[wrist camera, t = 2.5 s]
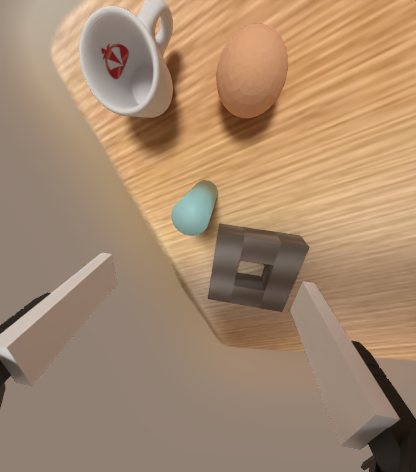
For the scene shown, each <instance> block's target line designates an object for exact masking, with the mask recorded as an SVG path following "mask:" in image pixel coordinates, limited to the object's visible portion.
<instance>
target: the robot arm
mask: <svg viewBox="0 0 416 472" xmlns="http://www.w3.org/2000/svg"><path fill="white" fill-rule="evenodd" d="M116 285H117V279H116V274H115V268H114V262H113V257H112V254H108V253H101V254H99V255H98V256H97V257H96V258H95V259H93V260H92V261H91V262H89V263H88V264H87V265H86V266H85V267H83V268H82V269H81V270H80V271H78V272H77V273H76V274H75V275H73V276H72V277H71V278H70V279H68V280H67V281H66V282H65V283H63V284H62V285H61V286H60V287H58V288H57V289H56V290H55V291H53V292H52V293H46V294H44V295H42V296H40V297H38V298H36V299H34V300H33V301H32V302H30V303H29V304H28V305H26V306H25V307H24V309H21V310H20V311H19V312H17V313H16V314H15V316H12V317H11V318H9V319H8V320H7V321H6V322H4V323H3V324H2V325H0V407H1V403H2V400H3V396H4V392H5V383H4V382H5V381H6V380H7V379H8V378H9V377H10V376H12V378H13V379H14V381H15V382H16V383H20V384H24V385H30V386H33V385H34V383H35V382H36V381H37V380H38V379H39V377H40V376H41V375H42V374H43V373H44V371H45V370H46V369H47V368H48V367H49V365H50V364H51V363H52V362H53V361H54V359H55V358H56V357H57V356H58V355H59V353H60V352H61V351H62V350H63V349H64V347H65V346H66V345H67V344H68V343H69V342H70V340H71V339H72V338H73V337H74V336H75V334H76V333H77V332H78V331H79V330H80V328H81V327H82V326H83V325H84V324H85V322H86V321H87V320H88V319H89V318H90V316H91V315H92V314H93V313H94V312H95V310H96V309H97V308H98V307H99V306H100V304H101V303H102V302H103V301H104V300H105V299H106V297H107V296H108V295H109V294H110V293H111V291H112V290H113V289H114V288H115V287H116ZM290 312H291V314H292V317H293V320H294V322H295V325H296V328H297V330H298V333H299V336H300V339H301V341H302V344H303V347H304V349H305V352H306V355H307V357H308V360H309V363H310V365H311V368H312V371H313V374H314V376H315V378H316V381H317V384H318V387H319V389H320V392H321V395H322V398H323V400H324V403H325V406H326V409H327V411H328V414H329V417H330V419H331V422H332V424H333V427H334V430H335V433H336V436H337V438H338V441H339V443H340V446H343V447H348V448H354V449H359V450H361V449H362V448H364V447H365V446H366V445H367V444H368V445H369V447H370V449H371V451H372V453H373V456H371V457H370V458H368V459H367V460H366V461H364V462H363V464H362V466H361V468H362V469H363V470H366V469H367V468H369V472H416V419H415V417H414V416H413V414H412V413H411V411H410V410H409V408H408V407H407V406H406V404H405V403H404V401H403V400H402V398H401V397H400V395H399V394H398V393H397V391H396V390H395V388H394V387H393V386H392V384H391V382H390V381H389V379H387V378H386V375H385V374H384V372H383V371H382V369H381V368H379V365H378V363H377V362H376V360H375V359H374V358H373V356H372V355H371V353H370V352H369V351H368V350H367V349H366V348H365V347H364V346H363V345H362V344H361V343H359V342H355V341H351V340H350V339H349V337H348V336H347V334H346V332H345V331H344V329H343V328H342V326H341V324H340V323H339V321H338V320H337V318H336V316H335V315H334V313H333V312H332V310H331V309H330V307H329V305H328V304H327V302H326V301H325V299H324V297H323V296H322V294H321V293H320V291H319V289H318V288H317V286H316V285H315V283H311V282H304V281H302V284H301V286H300V288H299V291H298V293H297V296H296V298H295V300H294V303H293V305H292V308H291V310H290Z"/></svg>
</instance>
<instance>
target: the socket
mask: <svg viewBox="0 0 416 472" xmlns="http://www.w3.org/2000/svg"><path fill="white" fill-rule="evenodd" d="M308 249H309V246H308V245H307V244H306V242H305V241H304V240H303V238H302V237H301V236H298V235H292V234H285V233H278V232H272V231H265V230H258V229H252V228H245V227H238V226H231V225H225V224H219V229H218V235H217V241H216V248H215V255H214V261H213V268H212V275H211V281H210V288H209V295H208V299H211V300H217V301H223V302H228V303H234V304H240V305H246V306H251V307H257V308H263V309H268V310H274V311H280V312H282V311H283V308H284V306H285V304H286V301H287V299H288V297H289V294H290V292H291V290H292V287H293V285H294V282H295V280H296V278H297V275H298V273H299V271H300V268H301V266H302V264H303V261H304V259H305V256H306V254H307V252H308ZM239 260H243V261H249V262H256V263H262V264H266V265H265V268H264V271H263V274H262V277H260V276H254V275H248V274H242V273H237V269H238V264H239Z"/></svg>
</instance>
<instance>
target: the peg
mask: <svg viewBox="0 0 416 472" xmlns="http://www.w3.org/2000/svg"><path fill="white" fill-rule="evenodd" d="M217 195H218V191H217V188H216V186H215V185H214V184H213V183H212V182H210V181H207V180H204V181H200V182H199V183H197V184H196V185H195V186H194V187H193V188H192V189H191V190H190V191H189V192H188V193H187V194H186V195H185V196H184V197H183V198H182V199H181V200H180V201H179V202H178V203H177V204H176V205H175V206H174V208H173V210H172V222H173V224H174V226H175V227H176V229H177V230H178V231H180V232H181V233H183V234H185V235H190V236H194V235H198V234H201V233H202V232H204V231H205V230H206V228H207V226H208V224H209V221H210V217H211V214H212V211H213V208H214V205H215V202H216V198H217Z"/></svg>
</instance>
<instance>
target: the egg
mask: <svg viewBox="0 0 416 472" xmlns="http://www.w3.org/2000/svg"><path fill="white" fill-rule="evenodd" d="M287 70H288V55H287V50H286V46H285V44H284V42H283V39H282V37H281V36H280V35H279V34H278V33H277V31H276V30H275V29H273V28H271V27H270V26H268V25H264V24H251V25H248V26H245V27H243V28H241V29H240V30H239V31H237V32H236V33H235V34H234V35H233V36H232V37H231V38H230V39H229V41H228V42H227V44H226V46H225V47H224V49H223V51H222V54H221V56H220V60H219V63H218V67H217V76H216V79H217V88H218V93H219V97H220V99H221V101H222V104H223V105H224V106H225V108H226V109H227V110H228V111H229V112H230V113H231V114H233V115H235V116H237V117H241V118H253V117H256V116H258V115H260V114H262V113H264V112H265V111H266V110H268V109H269V108H270V107H271V106H272V105H273V104H274V103H275V101H276V100H277V98H278V97H279V95H280V93H281V91H282V89H283V87H284V84H285V80H286V76H287Z"/></svg>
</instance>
